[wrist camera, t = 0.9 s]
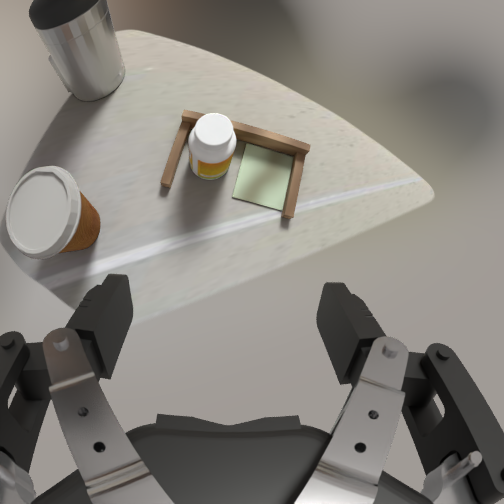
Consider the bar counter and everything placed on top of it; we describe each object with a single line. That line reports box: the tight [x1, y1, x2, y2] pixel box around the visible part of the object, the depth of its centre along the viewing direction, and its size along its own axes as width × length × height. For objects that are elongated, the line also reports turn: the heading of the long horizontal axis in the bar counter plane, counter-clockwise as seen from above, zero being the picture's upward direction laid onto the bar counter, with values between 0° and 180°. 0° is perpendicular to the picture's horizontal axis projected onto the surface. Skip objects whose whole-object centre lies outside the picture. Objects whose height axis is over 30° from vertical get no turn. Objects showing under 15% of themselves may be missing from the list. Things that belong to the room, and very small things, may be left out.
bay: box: [160, 110, 310, 219], centre depth 36 cm, size 17×10×3 cm, turn 77°
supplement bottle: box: [188, 113, 236, 180], centre depth 32 cm, size 5×5×10 cm
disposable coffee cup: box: [6, 166, 100, 259], centre depth 27 cm, size 10×10×12 cm
